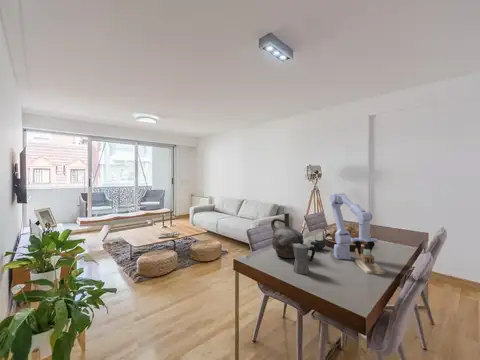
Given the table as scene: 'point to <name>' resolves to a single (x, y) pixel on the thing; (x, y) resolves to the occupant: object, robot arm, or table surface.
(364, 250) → the pale green cube
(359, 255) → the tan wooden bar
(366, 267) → the dock
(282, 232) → the vessel
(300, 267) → the coffeepot
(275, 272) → the table surface
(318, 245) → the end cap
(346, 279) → the table surface
